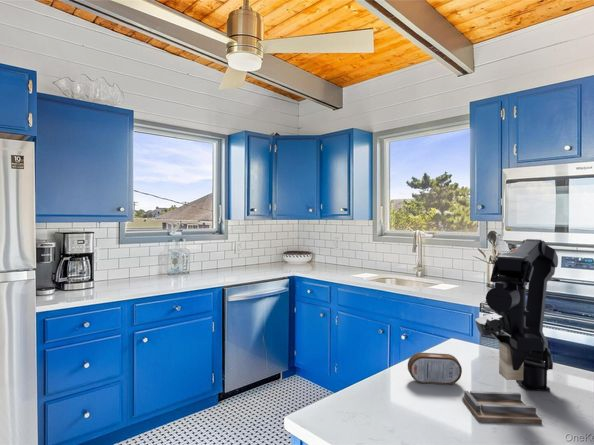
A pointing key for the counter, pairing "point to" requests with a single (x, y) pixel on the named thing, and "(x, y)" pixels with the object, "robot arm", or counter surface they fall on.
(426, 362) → the tin
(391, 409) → the counter surface
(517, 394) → the track
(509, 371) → the block
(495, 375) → the counter surface
